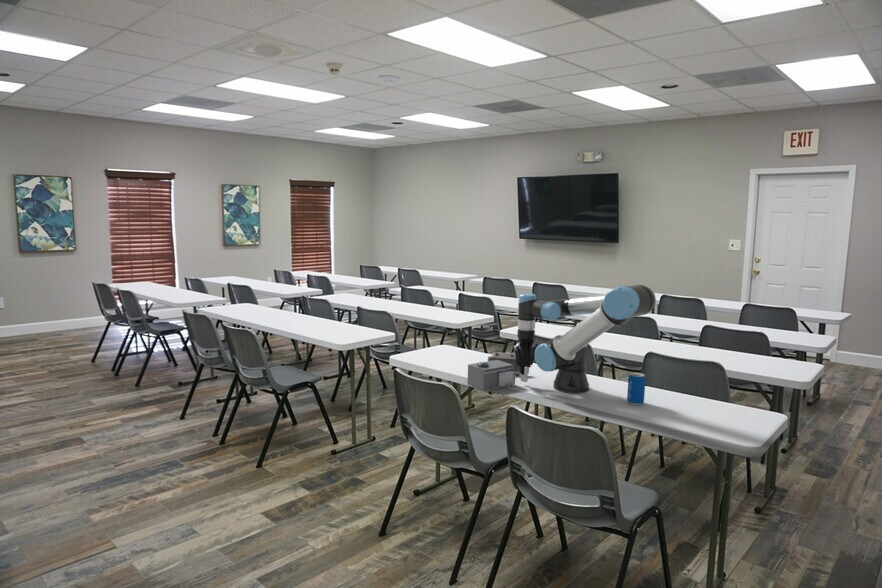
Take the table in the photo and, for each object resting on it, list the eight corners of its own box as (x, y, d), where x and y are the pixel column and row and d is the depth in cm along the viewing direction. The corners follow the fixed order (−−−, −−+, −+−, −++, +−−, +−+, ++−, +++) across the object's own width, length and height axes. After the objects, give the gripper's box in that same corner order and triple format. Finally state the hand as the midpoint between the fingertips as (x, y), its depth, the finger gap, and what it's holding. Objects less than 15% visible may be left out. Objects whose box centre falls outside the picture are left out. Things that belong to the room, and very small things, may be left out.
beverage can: (623, 401, 230) (625, 372, 229) (636, 400, 233) (638, 371, 231) (634, 406, 224) (636, 377, 223) (647, 404, 227) (649, 375, 225)
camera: (520, 374, 265) (522, 352, 268) (486, 371, 266) (488, 349, 269) (519, 377, 274) (520, 356, 277) (486, 374, 275) (488, 353, 278)
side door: (515, 385, 248) (515, 371, 247) (503, 388, 244) (503, 374, 243) (510, 383, 250) (510, 370, 249) (498, 386, 246) (498, 372, 245)
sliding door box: (514, 385, 251) (515, 361, 250) (484, 391, 241) (485, 366, 240) (496, 378, 261) (497, 356, 259) (467, 384, 251) (468, 360, 250)
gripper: (531, 326, 254) (529, 377, 257) (509, 328, 247) (507, 381, 250) (543, 329, 248) (540, 381, 251) (521, 331, 241) (518, 385, 244)
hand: (524, 381), depth 250 cm, fingers closed
